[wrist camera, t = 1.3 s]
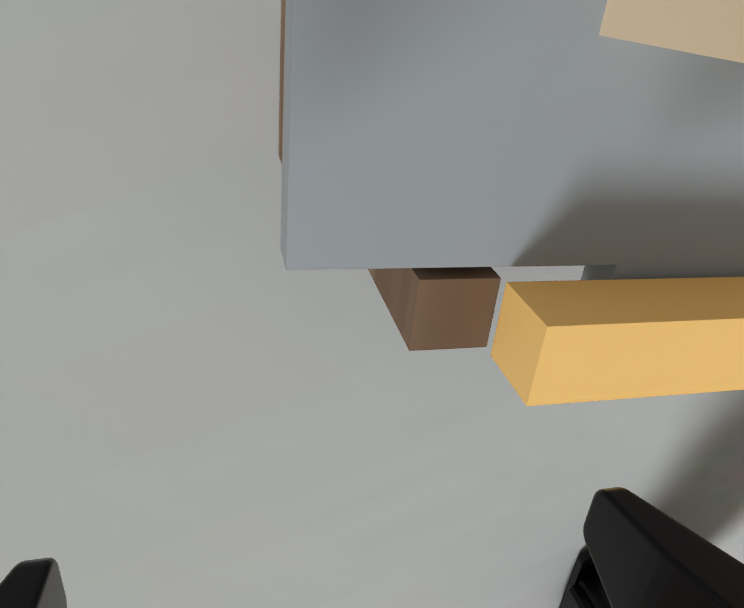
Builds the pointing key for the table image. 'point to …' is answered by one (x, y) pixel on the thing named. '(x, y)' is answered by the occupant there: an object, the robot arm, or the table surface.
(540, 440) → the table surface
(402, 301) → the brown wooden box
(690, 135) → the lid
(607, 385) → the yellow wooden bar
